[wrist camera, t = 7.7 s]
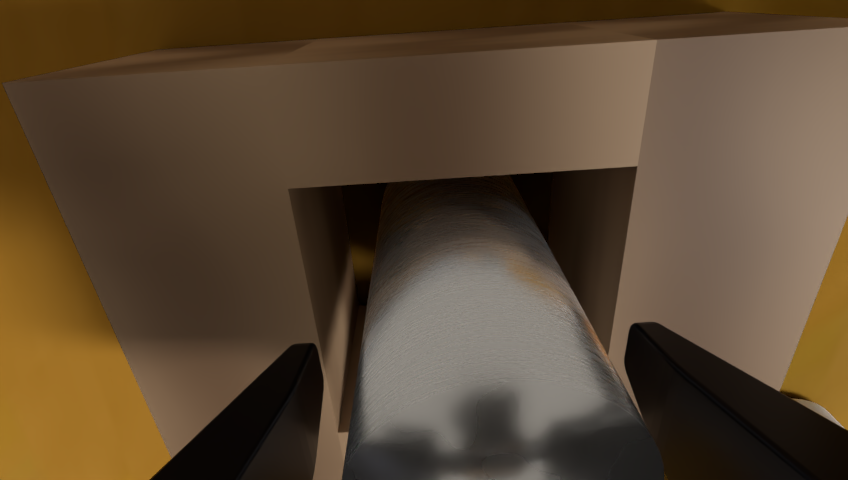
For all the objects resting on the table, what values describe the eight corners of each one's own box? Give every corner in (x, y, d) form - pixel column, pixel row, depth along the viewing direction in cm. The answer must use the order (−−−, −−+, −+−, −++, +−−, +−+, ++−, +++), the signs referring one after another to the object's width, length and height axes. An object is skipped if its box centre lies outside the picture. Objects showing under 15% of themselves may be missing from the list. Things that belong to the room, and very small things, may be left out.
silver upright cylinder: (516, 265, 15) (638, 583, 7) (388, 273, 15) (360, 599, 7) (520, 139, 13) (694, 371, 5) (374, 149, 13) (315, 395, 5)
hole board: (726, 12, 12) (922, 22, 7) (657, 335, 16) (751, 464, 12) (157, 49, 12) (2, 83, 7) (250, 361, 16) (189, 498, 12)
